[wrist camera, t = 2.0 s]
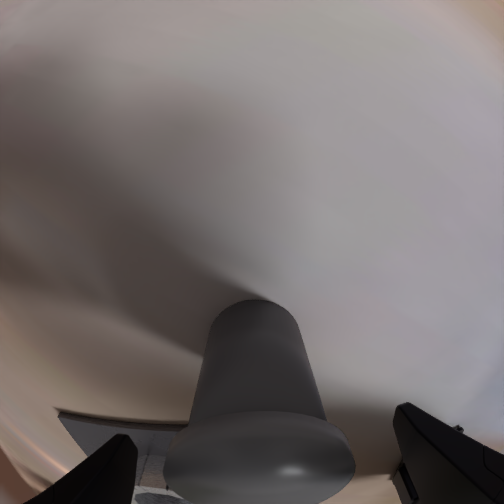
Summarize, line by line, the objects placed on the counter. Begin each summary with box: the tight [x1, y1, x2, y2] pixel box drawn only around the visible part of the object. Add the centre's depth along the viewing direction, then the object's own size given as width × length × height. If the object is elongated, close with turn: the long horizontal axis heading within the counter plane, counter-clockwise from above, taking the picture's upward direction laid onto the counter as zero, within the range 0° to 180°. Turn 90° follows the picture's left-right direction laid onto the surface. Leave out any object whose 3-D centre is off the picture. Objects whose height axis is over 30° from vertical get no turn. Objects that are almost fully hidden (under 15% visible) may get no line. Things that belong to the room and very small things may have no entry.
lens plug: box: [163, 300, 355, 504], centre depth 9 cm, size 5×5×8 cm
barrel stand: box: [58, 412, 193, 504], centre depth 15 cm, size 16×14×4 cm
